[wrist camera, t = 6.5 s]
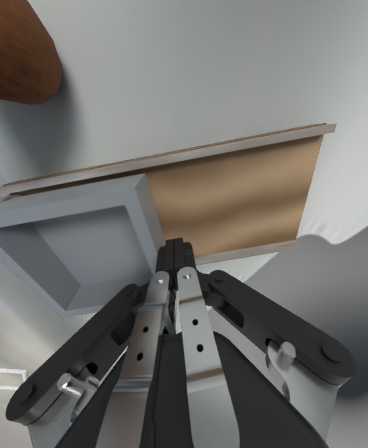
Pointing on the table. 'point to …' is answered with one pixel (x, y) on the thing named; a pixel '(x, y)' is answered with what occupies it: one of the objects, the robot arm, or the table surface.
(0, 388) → the photo frame
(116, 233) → the shallow grey tray
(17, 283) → the table surface
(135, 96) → the table surface
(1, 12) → the wooden figurine
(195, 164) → the rail board
